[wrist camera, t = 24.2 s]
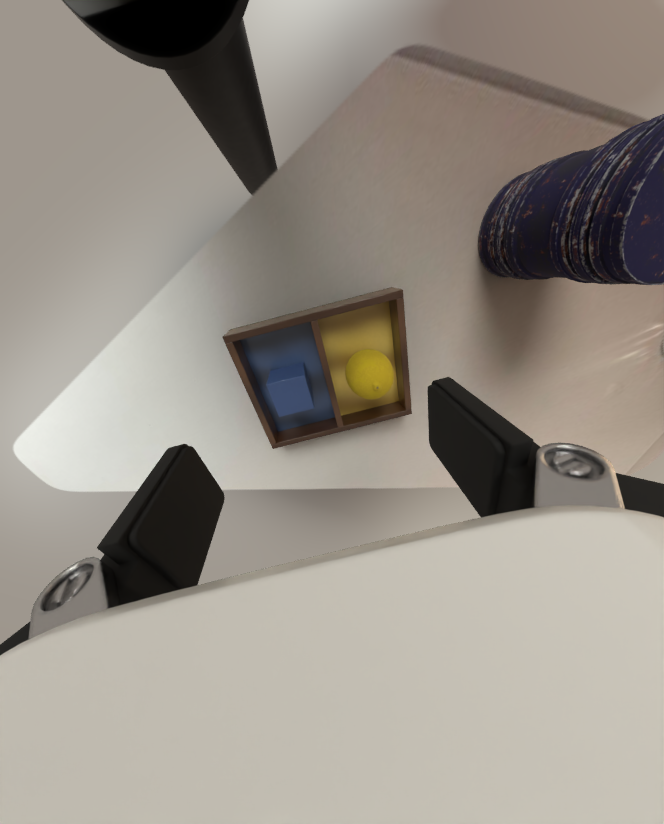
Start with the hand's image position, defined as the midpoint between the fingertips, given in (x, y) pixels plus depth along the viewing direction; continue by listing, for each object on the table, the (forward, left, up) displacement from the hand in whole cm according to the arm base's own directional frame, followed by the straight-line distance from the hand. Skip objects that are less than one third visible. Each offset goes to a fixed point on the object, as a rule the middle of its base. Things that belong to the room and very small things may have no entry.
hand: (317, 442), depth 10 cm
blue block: (+7, -4, -23) cm, 25 cm away
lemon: (+7, +6, -24) cm, 25 cm away
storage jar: (-4, +26, -24) cm, 36 cm away
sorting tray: (+7, +1, -24) cm, 25 cm away
